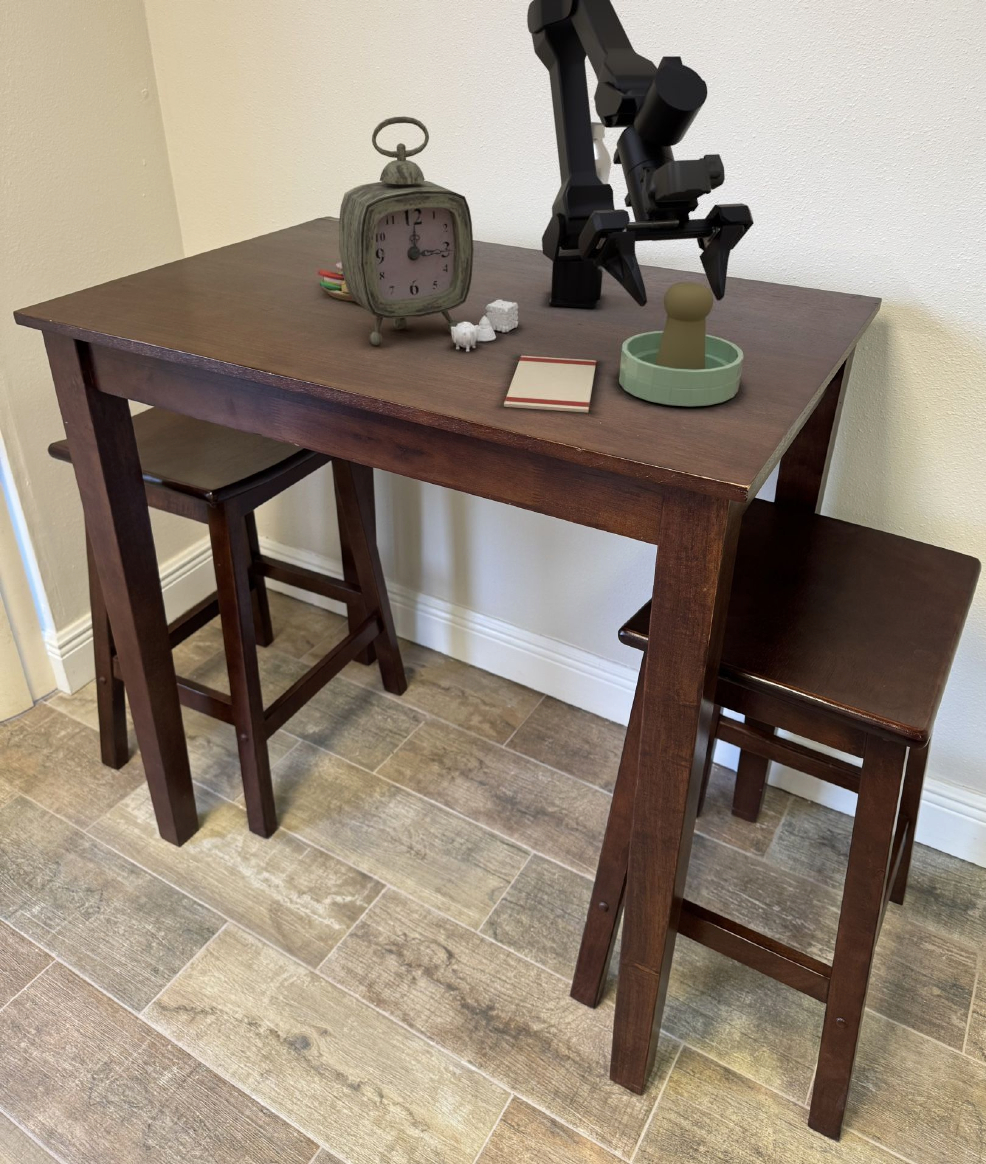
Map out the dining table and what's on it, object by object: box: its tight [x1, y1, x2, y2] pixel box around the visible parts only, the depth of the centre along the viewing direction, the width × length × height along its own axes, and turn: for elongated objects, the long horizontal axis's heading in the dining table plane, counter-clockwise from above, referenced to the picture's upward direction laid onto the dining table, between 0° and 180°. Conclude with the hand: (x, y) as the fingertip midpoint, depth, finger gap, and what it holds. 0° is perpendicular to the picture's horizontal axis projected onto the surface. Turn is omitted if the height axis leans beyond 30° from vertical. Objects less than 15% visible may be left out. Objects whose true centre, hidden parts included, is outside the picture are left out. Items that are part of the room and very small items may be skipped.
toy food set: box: [317, 261, 357, 303], centre depth 134 cm, size 13×13×3 cm
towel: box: [503, 355, 597, 414], centre depth 106 cm, size 9×15×1 cm, turn 172°
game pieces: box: [450, 299, 520, 352], centre depth 118 cm, size 12×3×3 cm, turn 149°
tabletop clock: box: [338, 116, 475, 346], centre depth 113 cm, size 14×9×25 cm, turn 117°
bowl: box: [618, 330, 745, 407], centre depth 105 cm, size 13×13×4 cm
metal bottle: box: [591, 121, 612, 184], centre depth 145 cm, size 6×7×20 cm
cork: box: [655, 281, 714, 370], centre depth 103 cm, size 6×6×11 cm
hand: (682, 301), depth 102 cm, fingers open, 9 cm apart
